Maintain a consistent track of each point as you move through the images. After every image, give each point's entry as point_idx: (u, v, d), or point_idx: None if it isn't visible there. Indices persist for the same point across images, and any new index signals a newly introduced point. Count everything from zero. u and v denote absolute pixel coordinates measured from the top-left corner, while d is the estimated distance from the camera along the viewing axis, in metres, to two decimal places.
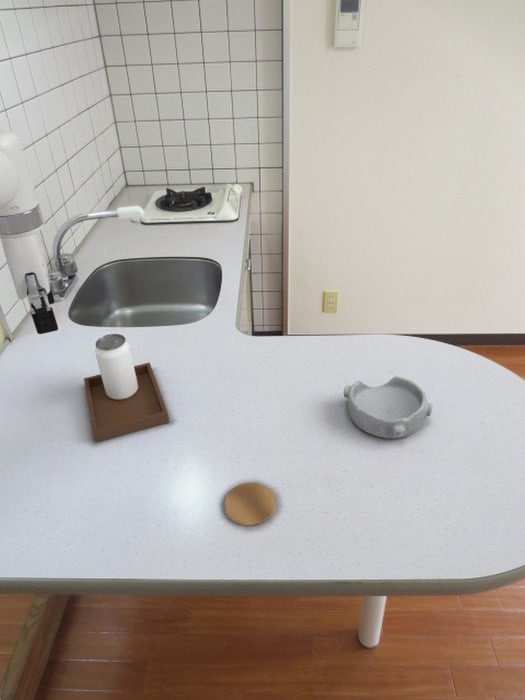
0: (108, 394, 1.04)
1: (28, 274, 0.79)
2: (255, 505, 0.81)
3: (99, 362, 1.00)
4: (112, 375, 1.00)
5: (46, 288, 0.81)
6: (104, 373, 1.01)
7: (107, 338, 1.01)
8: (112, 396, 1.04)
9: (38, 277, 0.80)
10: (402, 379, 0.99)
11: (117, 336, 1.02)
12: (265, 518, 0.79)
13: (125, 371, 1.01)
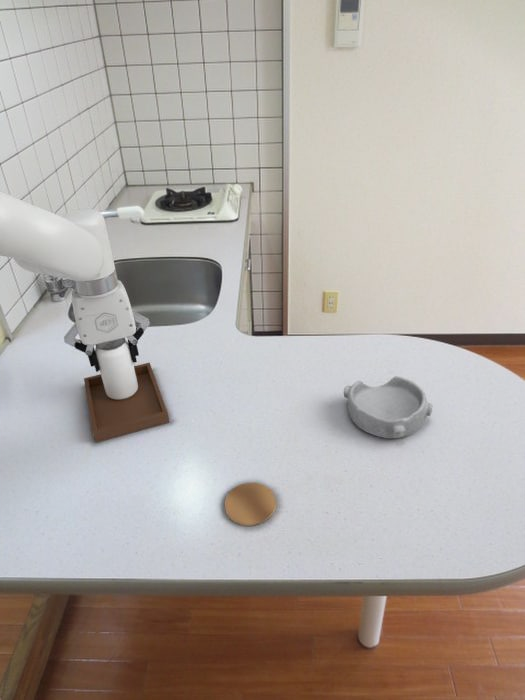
0: (108, 394, 1.04)
1: None
2: (255, 505, 0.81)
3: (99, 362, 1.00)
4: (112, 375, 1.00)
5: None
6: (104, 373, 1.01)
7: None
8: (112, 396, 1.04)
9: None
10: (402, 379, 0.99)
11: None
12: (265, 518, 0.79)
13: (125, 371, 1.01)
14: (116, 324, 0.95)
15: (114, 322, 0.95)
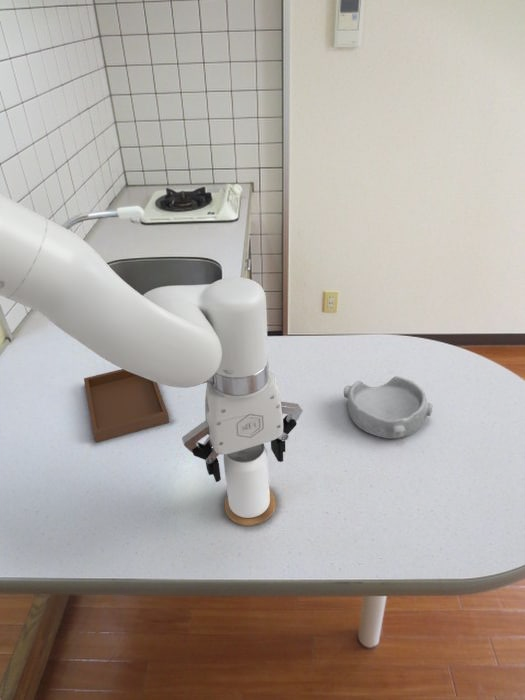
0: (235, 511, 0.79)
1: None
2: None
3: (230, 475, 0.75)
4: (246, 491, 0.76)
5: None
6: (235, 488, 0.76)
7: None
8: (241, 514, 0.79)
9: None
10: (402, 379, 0.99)
11: None
12: (265, 518, 0.79)
13: (262, 485, 0.76)
14: (262, 427, 0.70)
15: (260, 424, 0.70)
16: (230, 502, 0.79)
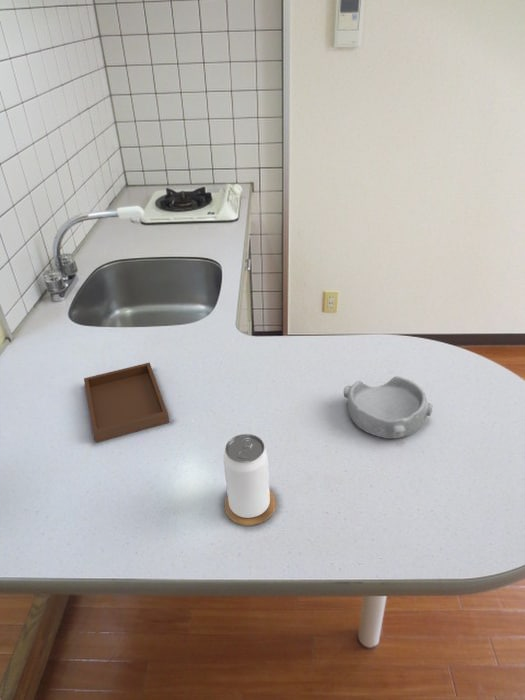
0: (235, 511, 0.79)
1: None
2: None
3: (230, 475, 0.75)
4: (246, 491, 0.76)
5: None
6: (235, 488, 0.76)
7: (238, 441, 0.77)
8: (241, 514, 0.79)
9: None
10: (402, 379, 0.99)
11: (250, 437, 0.77)
12: (265, 518, 0.79)
13: (262, 485, 0.76)
14: None
15: None
16: (230, 502, 0.79)
